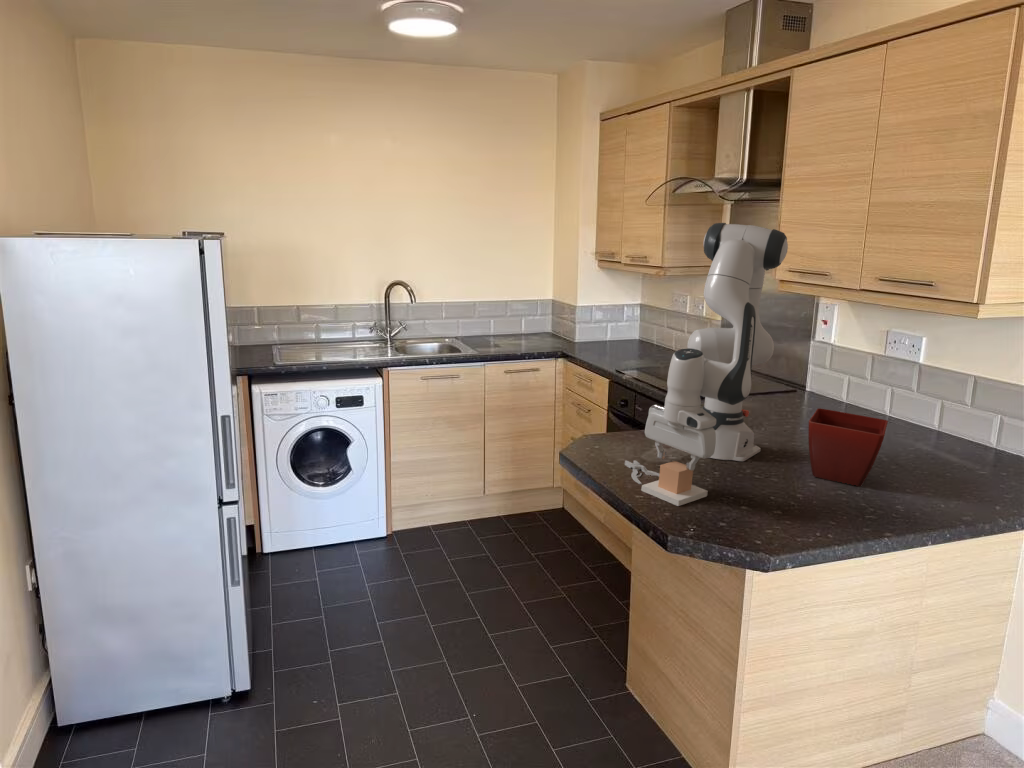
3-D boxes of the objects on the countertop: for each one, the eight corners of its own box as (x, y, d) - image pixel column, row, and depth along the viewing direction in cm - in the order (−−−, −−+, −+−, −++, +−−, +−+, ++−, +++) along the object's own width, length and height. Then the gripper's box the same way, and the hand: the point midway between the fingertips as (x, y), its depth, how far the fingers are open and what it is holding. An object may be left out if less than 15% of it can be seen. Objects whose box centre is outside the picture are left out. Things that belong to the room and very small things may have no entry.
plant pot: (878, 474, 208) (888, 419, 204) (873, 494, 192) (884, 435, 188) (809, 460, 217) (817, 407, 213) (799, 478, 201) (808, 421, 197)
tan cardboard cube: (672, 482, 189) (675, 460, 187) (691, 489, 184) (693, 467, 183) (658, 486, 185) (660, 464, 183) (676, 494, 180) (679, 471, 179)
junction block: (670, 481, 193) (672, 462, 192) (707, 496, 184) (709, 476, 183) (641, 490, 186) (643, 470, 184) (678, 506, 177) (680, 485, 175)
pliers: (639, 480, 190) (614, 461, 203) (639, 485, 190) (614, 466, 204) (671, 477, 193) (645, 459, 207) (671, 483, 193) (644, 464, 207)
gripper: (642, 404, 186) (637, 453, 189) (706, 425, 171) (699, 478, 174) (658, 401, 190) (652, 449, 193) (722, 421, 174) (715, 473, 178)
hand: (675, 463), depth 184 cm, fingers open, 8 cm apart
